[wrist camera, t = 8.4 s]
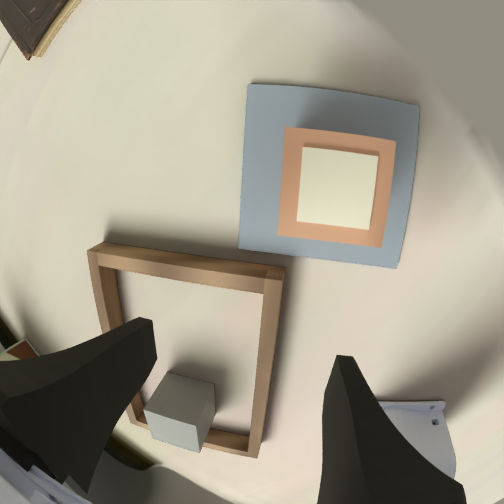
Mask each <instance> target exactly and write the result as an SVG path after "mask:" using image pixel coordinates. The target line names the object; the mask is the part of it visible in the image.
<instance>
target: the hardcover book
mask: <svg viewBox="0 0 504 504" xmlns="http://www.w3.org/2000/svg"><path fill="white" fill-rule="evenodd" d="M80 1H81V0H0V21H1V22H2V24H3V25H4V27H5V28H6V30H7V31H8V33H9V34H10V36H11V37H12V39H13V40H14V42H15V43H16V45H17V46H18V48H19V49H20V51H21V52H22V53H23V55H24V56H25V58H26V59H27V60H30V58H31V57H32V55H33V56H36V57H42V55H43V53H44V52H45V50H46V49H47V47H48V46H49V44H50V42H51V41H52V39H53V38H54V36H55V35H56V33H57V32H58V30H59V29H60V28H61V26H62V25H63V23H64V22H65V21H66V19H67V18H68V17H69V15H70V14H71V13H72V11H73V10H74V9H75V7H76V6H77V5H78V4H79V2H80Z"/></svg>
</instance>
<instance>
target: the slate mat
mask: <svg viewBox="0 0 504 504" xmlns="http://www.w3.org/2000/svg"><path fill="white" fill-rule="evenodd" d="M419 107H420V106H416V105H412V104H408V103H404V102H399V101H395V100H390V99H385V98H380V97H375V96H369V95H364V94H358V93H351V92H344V91H337V90H329V89H320V88H310V87H299V86H284V85H261V84H248V86H247V101H246V117H245V133H244V150H243V167H242V186H241V204H240V224H239V245H238V249H244V250H252V251H260V252H268V253H276V254H284V255H292V256H300V257H307V258H315V259H323V260H331V261H339V262H347V263H355V264H362V265H370V266H378V267H386V268H394V269H397V265H398V261H399V256H400V252H401V247H402V243H403V238H404V233H405V228H406V223H407V217H408V211H409V205H410V199H411V193H412V186H413V178H414V170H415V162H416V152H417V141H418V127H419ZM285 127H293V128H305V129H315V130H325V131H333V132H341V133H349V134H356V135H362V136H369V137H375V138H381V139H386V140H392V141H396V148H395V159H394V169H393V178H392V186H391V194H390V201H389V208H388V214H387V221H386V227H385V232H384V238H383V243H382V248H378V247H370V246H362V245H354V244H346V243H338V242H330V241H321V240H313V239H304V238H296V237H287V236H278V235H277V233H278V221H279V208H280V194H281V180H282V165H283V150H284V134H285Z"/></svg>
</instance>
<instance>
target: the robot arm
mask: <svg viewBox="0 0 504 504" xmlns="http://www.w3.org/2000/svg"><path fill="white" fill-rule="evenodd" d="M156 360H157V353H156V346H155V339H154V331H153V322H152V320H149V319H145V318H142V317H138V318H136V319H133V320H131V321H129V322H127V323H125V324H123V325H121V326H118V327H116V328H114V329H112V330H110V331H108V332H106V333H104V334H102V335H100V336H98V337H95V338H93V339H91V340H88V341H86V342H83V343H81V344H79V345H76V346H74V347H71V348H68V349H65V350H62V351H59V352H55V353H52V354H47V355H43V356H38V357H34V358H28V359H21V360H10V361H0V504H57V502H56V500H57V501H58V502H60V503H61V504H92V503H90V502H89V501H87V500H85V499H84V498H82V497H80V496H83V495H86V494H87V493H88V489H89V486H90V483H91V480H92V477H93V474H94V471H95V468H96V466H97V463H98V461H99V459H100V456H101V454H102V452H103V449H104V447H105V445H106V443H107V441H108V439H109V437H110V435H111V433H112V431H113V429H114V427H115V425H116V423H117V421H118V420H119V418H120V417H121V415H122V414H123V412H124V411H125V409H126V408H127V407H128V405H129V404H130V402H131V401H132V400H133V398H134V397H135V395H136V394H137V392H138V391H139V390H140V388H141V387H142V385H143V384H144V382H145V381H146V379H147V378H148V376H149V374H150V372H151V370H152V369H153V366H154V364H155V362H156ZM445 406H446V403H445V401H427V402H381V401H377V399H376V398H375V396H374V394H373V392H372V391H371V389H370V387H369V386H368V384H367V382H366V380H365V378H364V377H363V375H362V373H361V371H360V369H359V367H358V365H357V363H356V361H355V359H354V358H353V356H343V355H337V356H336V359H335V362H334V365H333V368H332V372H331V375H330V378H329V381H328V384H327V387H326V390H325V393H324V402H323V413H322V440H323V463H322V476H321V483H320V490H319V496H318V502H317V504H467V503H466V497H465V492H464V488H463V485H462V484H460V483H459V482H457V481H455V480H454V477H455V472H456V456H455V452H454V448H453V444H452V441H451V437H450V434H449V430H448V427H447V424H446V420H445V417H444V414H443V409H444V408H445Z"/></svg>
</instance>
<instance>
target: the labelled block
mask: <svg viewBox="0 0 504 504" xmlns="http://www.w3.org/2000/svg"><path fill="white" fill-rule="evenodd" d="M395 148H396V141H392V140H386V139H381V138H375V137H369V136H362V135H356V134H349V133H341V132H333V131H325V130H315V129H305V128H293V127H285V134H284V150H283V165H282V180H281V194H280V208H279V221H278V233H277V235H278V236H287V237H296V238H304V239H313V240H321V241H330V242H338V243H346V244H354V245H362V246H370V247H378V248H382V243H383V238H384V232H385V227H386V221H387V214H388V208H389V201H390V194H391V186H392V178H393V169H394V159H395Z"/></svg>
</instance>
